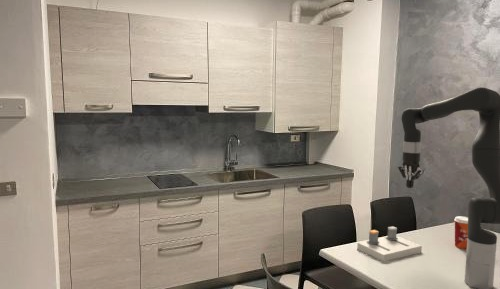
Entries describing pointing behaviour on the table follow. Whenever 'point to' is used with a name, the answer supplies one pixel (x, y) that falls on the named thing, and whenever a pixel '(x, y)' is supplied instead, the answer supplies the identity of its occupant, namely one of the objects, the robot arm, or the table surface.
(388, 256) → the switch box
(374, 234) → the orange and grey block
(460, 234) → the paper cup
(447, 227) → the table surface
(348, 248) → the table surface
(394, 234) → the on lever
